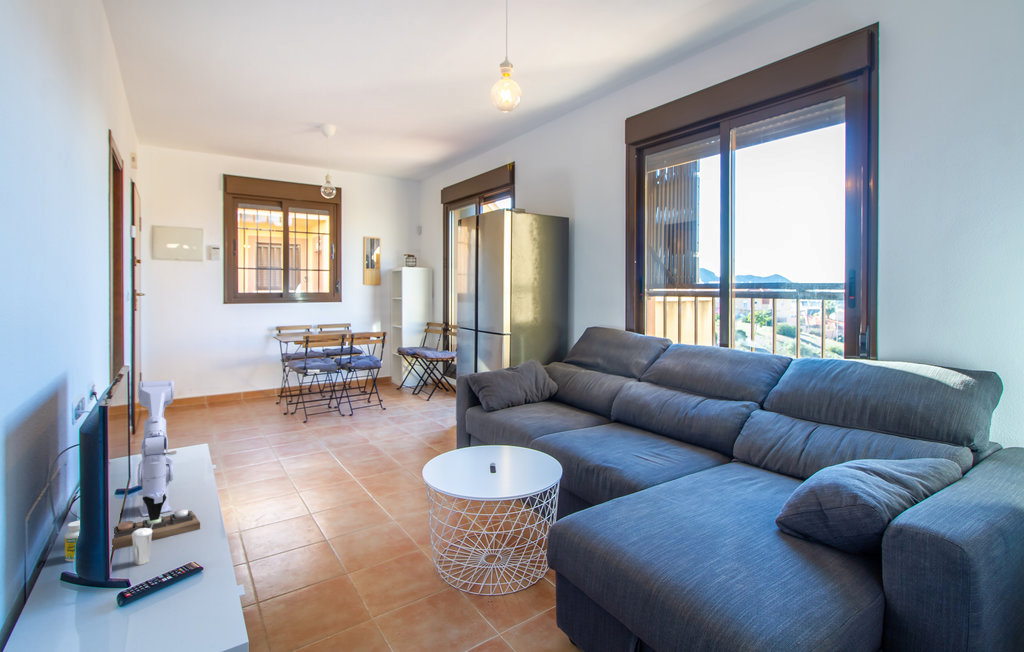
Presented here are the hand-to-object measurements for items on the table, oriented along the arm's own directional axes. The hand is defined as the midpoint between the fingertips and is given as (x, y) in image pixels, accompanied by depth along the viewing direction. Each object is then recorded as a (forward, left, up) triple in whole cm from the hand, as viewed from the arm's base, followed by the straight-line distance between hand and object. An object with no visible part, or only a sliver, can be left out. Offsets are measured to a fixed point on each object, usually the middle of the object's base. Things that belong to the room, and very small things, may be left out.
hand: (154, 519), depth 154 cm
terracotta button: (0, -7, -1) cm, 7 cm away
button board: (0, 0, -4) cm, 4 cm away
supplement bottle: (+5, -18, -4) cm, 19 cm away
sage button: (0, 0, -2) cm, 2 cm away
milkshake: (+19, -5, -4) cm, 20 cm away
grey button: (0, +7, -1) cm, 7 cm away
